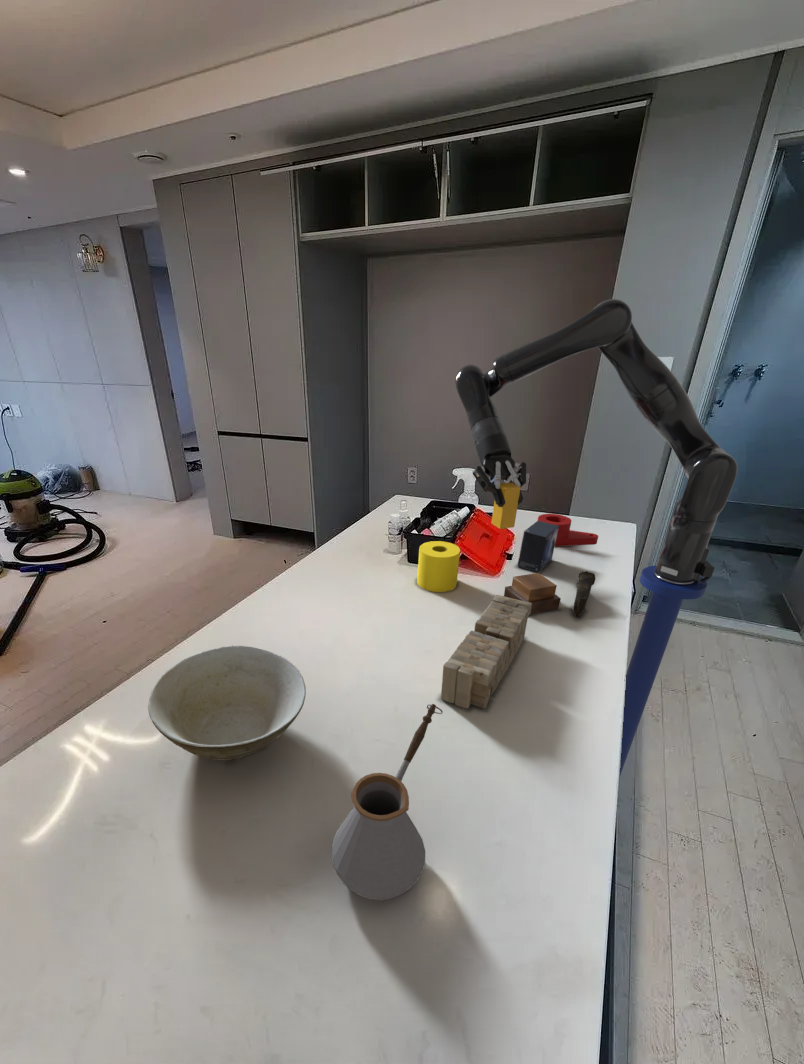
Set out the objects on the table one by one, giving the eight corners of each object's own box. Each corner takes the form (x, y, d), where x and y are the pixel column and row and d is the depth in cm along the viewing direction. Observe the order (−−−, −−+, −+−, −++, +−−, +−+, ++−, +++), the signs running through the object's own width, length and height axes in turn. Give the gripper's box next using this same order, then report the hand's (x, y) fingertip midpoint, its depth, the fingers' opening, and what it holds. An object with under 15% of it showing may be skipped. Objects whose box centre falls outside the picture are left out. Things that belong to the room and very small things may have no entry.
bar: (505, 521, 127) (511, 482, 122) (514, 527, 124) (520, 487, 119) (491, 523, 126) (496, 483, 121) (499, 529, 123) (505, 488, 118)
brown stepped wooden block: (535, 592, 126) (539, 570, 123) (558, 609, 118) (563, 586, 115) (503, 597, 123) (506, 575, 120) (524, 615, 116) (529, 592, 113)
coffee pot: (398, 932, 56) (404, 846, 49) (313, 880, 62) (307, 795, 54) (466, 796, 72) (478, 716, 65) (394, 764, 78) (398, 687, 70)
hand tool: (576, 583, 130) (580, 566, 128) (593, 586, 128) (597, 570, 126) (563, 616, 116) (567, 599, 113) (582, 621, 114) (586, 603, 112)
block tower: (480, 718, 88) (527, 634, 109) (486, 680, 83) (534, 601, 104) (438, 702, 91) (491, 624, 112) (441, 665, 87) (496, 591, 108)
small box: (540, 573, 135) (547, 536, 130) (516, 567, 138) (522, 531, 133) (553, 560, 142) (560, 524, 137) (530, 554, 146) (536, 519, 140)
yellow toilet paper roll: (455, 575, 134) (459, 542, 129) (457, 593, 125) (460, 558, 121) (417, 573, 135) (420, 540, 131) (416, 590, 127) (418, 556, 122)
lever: (536, 544, 152) (540, 523, 148) (532, 533, 160) (536, 513, 156) (600, 548, 149) (605, 527, 146) (593, 536, 157) (598, 516, 154)
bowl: (336, 720, 86) (335, 672, 81) (236, 822, 69) (227, 769, 64) (236, 673, 97) (230, 629, 93) (128, 751, 80) (113, 702, 75)
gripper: (471, 434, 119) (491, 500, 115) (523, 430, 123) (545, 494, 119) (458, 452, 126) (477, 514, 122) (508, 448, 130) (528, 508, 126)
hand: (510, 504), depth 120 cm, fingers closed on bar, 4 cm apart
